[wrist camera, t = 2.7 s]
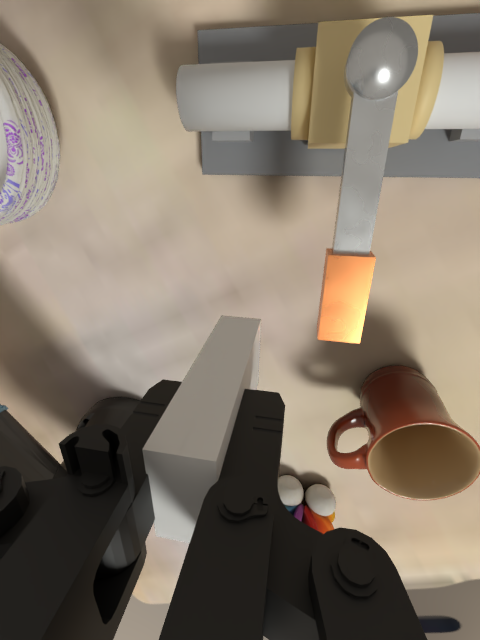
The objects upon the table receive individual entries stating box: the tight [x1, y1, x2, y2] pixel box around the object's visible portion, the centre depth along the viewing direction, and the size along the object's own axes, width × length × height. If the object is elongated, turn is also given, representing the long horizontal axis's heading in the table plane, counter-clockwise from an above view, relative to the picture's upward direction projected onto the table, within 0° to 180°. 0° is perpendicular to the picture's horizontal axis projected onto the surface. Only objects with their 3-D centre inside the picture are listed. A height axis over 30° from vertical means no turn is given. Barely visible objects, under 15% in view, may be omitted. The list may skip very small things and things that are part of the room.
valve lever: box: [317, 17, 418, 344], centre depth 18 cm, size 16×3×2 cm, turn 179°
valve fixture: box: [176, 13, 480, 178], centre depth 21 cm, size 24×10×11 cm, turn 89°
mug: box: [327, 365, 480, 500], centre depth 32 cm, size 12×9×10 cm
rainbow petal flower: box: [278, 475, 336, 534], centre depth 42 cm, size 8×10×7 cm
